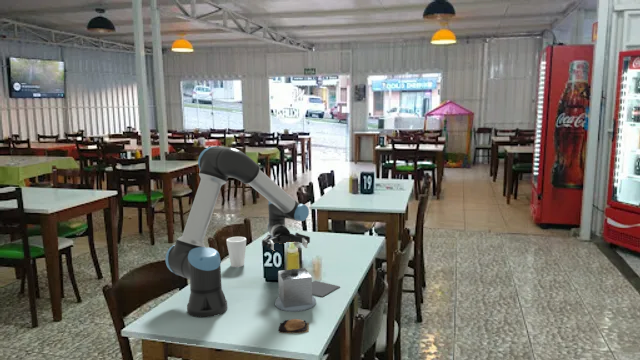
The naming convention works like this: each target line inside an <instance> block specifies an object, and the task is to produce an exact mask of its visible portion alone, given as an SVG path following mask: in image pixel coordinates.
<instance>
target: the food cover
mask: <svg viewBox="0 0 640 360" xmlns="http://www.w3.org/2000/svg"><path fill="white" fill-rule="evenodd" d="M277 276H278V277H277V278H278V279H277V281H278V297H279V298H280V300H281V302H282V304H283V306H284V308H288V307H295V306H303V305H311V304H312V296H313V295H312V282H313V277H312V275H311V274H310V273H309V271H308V270H307V269H306V267H300V268H292V269H285V270H284V269H283V270H278V272H277Z"/></svg>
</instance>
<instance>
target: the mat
mask: <svg viewBox="0 0 640 360" xmlns="http://www.w3.org/2000/svg"><path fill="white" fill-rule="evenodd" d="M340 288H341V286H340V285H335V284H333V283H332V284H331V283H326V282H321V281H319V280H312V296H314V297H315V296H316V297H320V298H323V297H325V296H327V295H329V294H330V293H332V292H334V291H336V290H337V289H340Z"/></svg>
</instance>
